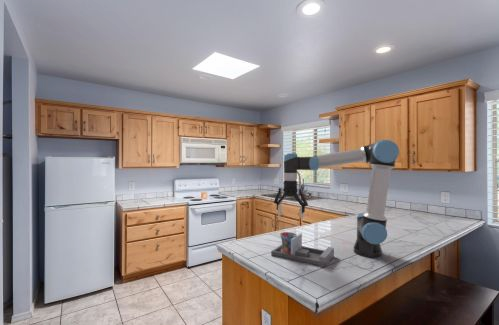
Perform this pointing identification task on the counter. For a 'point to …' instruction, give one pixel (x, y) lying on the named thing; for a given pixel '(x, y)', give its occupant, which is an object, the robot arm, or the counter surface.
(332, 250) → the grey tray
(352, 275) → the counter surface
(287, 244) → the mug
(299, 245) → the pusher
